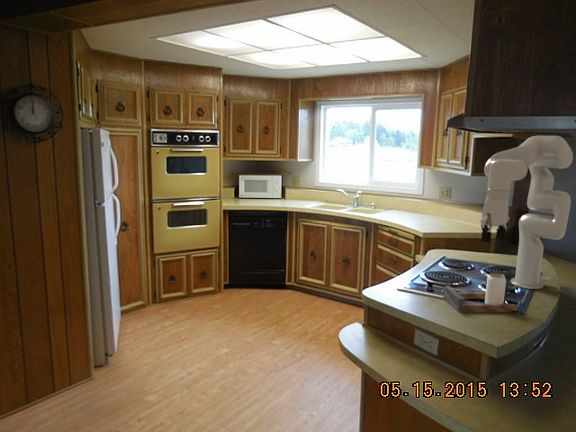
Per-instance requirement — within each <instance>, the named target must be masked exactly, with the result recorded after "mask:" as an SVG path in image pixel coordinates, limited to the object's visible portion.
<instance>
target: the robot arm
mask: <svg viewBox="0 0 576 432" xmlns="http://www.w3.org/2000/svg"><path fill="white" fill-rule="evenodd" d="M573 160H574V154H573V150H572V148H571V147H570V145H569V144H568V142H567V141H566V140H565V138H563V137H562V136H559V135H534V136H530V137H529V138H527V139H526V140H525V141H523V142H522V143H520V145H518V146H517V147H516V146H515V147H513V148H510V149H506V150H502V151H499V152H496V153H495V154H493V155H492V156H491V157H489V159H488V160H487V161H486V163H485V165H484V168H483V169H484V170H483V171H484V175H485V176H486V177H487V178H488V180H487V189H486V198H485V200H484V205H483V209H482V213H481V214H482V215H481V219H480V227H481V231H482V232H481V241H480V242H482V243H486V244H491V241H492V229H493V228H494V227H497V228H496V234H495V239H496V240H500V241H505V240H506V235H507V229H508V227H507V226H508V225H509V221H510V216H509V205H510V204H509V203H510V201H509V200H510V195H511V187H512V186H511V185H512V181H520V180H523V179H524V178H525V177H526V176H527V173H528V170H529V172H530V178H531V179H530V184H529V190H528V196H527V200H526V201H527V202H526V205H527V209H529V210H531V211H535V212H541V213H549V214H550V213H551V214H553V215H554V216H552V215H545V214H538V213H525V214H522V216H520V218H519V220H518V229H519V231H518V235H519V237H518V240H519V241H518V250H517V259H516V268H515V277H513V278H511V279H510V283H511V284H512V285H514V286H515V287H518V288H521V289H522V288H523V289H528V290H539V289H543V288H544V282H547V283H549V282H552V279H551V277H548V276H547V277H546V276H543V275H541V273H542V265H543V256H544V248H545V247H544V244H543V242H542V241H541V239H540V238H543V239H549V240H558V241H559V240H562V239H563V238H564V236H565V234H566V232H567V231H566V230H567V226H568V225H567V224H568V220H569V216H570V215H569V214H570V211H571V204H572V200H571V195H570V194H569V192H566V191H563V190H554V189H553V188H554V184H555V183H554V182H555V177H554V175H553V174H552V172H551V170H549V169H560V170H561V169H567V168H569V167H570V166H571V165H572V163H573Z"/></svg>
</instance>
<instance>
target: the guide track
mask: <svg viewBox="0 0 576 432" xmlns="http://www.w3.org/2000/svg"><path fill="white" fill-rule="evenodd" d="M485 295H486V291H484V292H483V291H482V292H481V291H480V292H479V291H478V292H477V291H476V292H475V291H473V292H471V291H456V290H455V289H453V288H452V287H451V286H449V285H444V287H443V295H442V296H443V297H442V298H443V299H444V300H445V301H446V302H447V303H448V304H449V306H452V308H453V309H454V310H455V311H456V312H460V313H461V312H462V313H464V312H465V313H466V312H467V313H474V312H475V313H511V312H510V311H517V310H518V305H517V304H516V303H503V304H485V303H465V299H485ZM517 312H518V311H517Z"/></svg>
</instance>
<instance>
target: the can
mask: <svg viewBox="0 0 576 432" xmlns="http://www.w3.org/2000/svg"><path fill="white" fill-rule="evenodd" d="M485 285H486V287H485V292H486V295H485V300H484V304H505V303H504V302H505V294H506V293H505V292H506V285H507V279H506V275H505V274H504V273H498V272H489V274H488V276H487V278H486V284H485Z"/></svg>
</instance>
